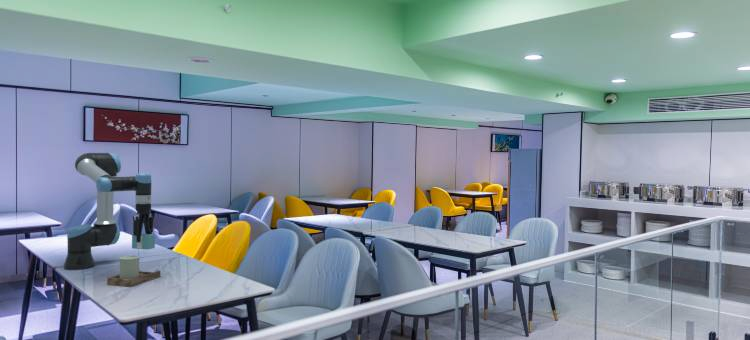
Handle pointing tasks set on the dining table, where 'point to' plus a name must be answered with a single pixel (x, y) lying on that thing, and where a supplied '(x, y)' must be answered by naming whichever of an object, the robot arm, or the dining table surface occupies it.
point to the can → (129, 267)
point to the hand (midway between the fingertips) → (143, 247)
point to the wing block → (144, 241)
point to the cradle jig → (130, 283)
